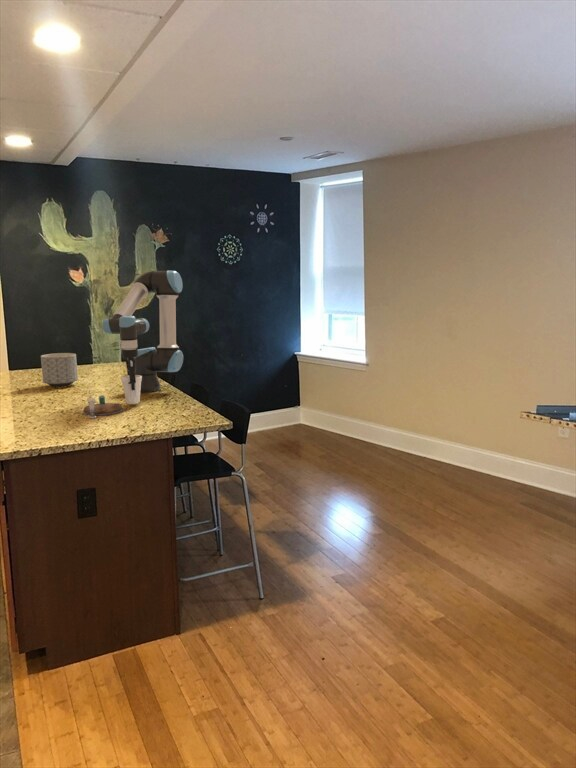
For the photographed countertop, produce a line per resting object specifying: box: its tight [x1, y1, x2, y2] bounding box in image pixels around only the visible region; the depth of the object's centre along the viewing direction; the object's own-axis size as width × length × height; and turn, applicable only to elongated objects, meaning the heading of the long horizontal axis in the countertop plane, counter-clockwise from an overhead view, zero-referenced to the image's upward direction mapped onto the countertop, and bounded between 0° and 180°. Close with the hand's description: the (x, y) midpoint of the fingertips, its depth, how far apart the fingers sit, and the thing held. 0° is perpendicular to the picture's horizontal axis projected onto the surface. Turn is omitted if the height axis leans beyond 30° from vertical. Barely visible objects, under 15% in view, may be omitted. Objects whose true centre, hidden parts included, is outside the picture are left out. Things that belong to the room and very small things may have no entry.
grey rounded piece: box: [87, 396, 98, 419], centre depth 269 cm, size 4×4×9 cm
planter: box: [40, 352, 79, 388], centre depth 351 cm, size 19×19×18 cm
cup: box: [120, 374, 142, 405], centre depth 294 cm, size 10×10×13 cm
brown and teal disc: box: [83, 395, 123, 414], centre depth 283 cm, size 17×22×4 cm
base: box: [82, 407, 124, 417], centre depth 282 cm, size 18×18×1 cm
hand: (132, 394), depth 294 cm, fingers closed on cup, 9 cm apart
